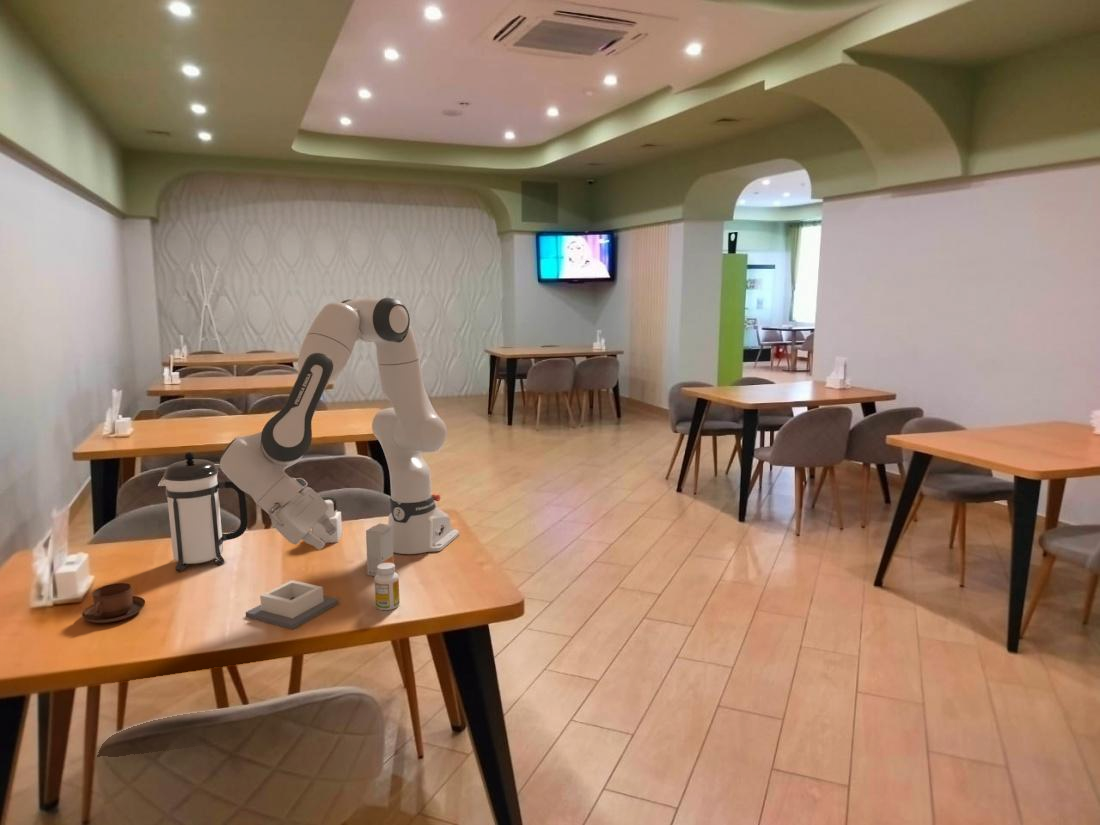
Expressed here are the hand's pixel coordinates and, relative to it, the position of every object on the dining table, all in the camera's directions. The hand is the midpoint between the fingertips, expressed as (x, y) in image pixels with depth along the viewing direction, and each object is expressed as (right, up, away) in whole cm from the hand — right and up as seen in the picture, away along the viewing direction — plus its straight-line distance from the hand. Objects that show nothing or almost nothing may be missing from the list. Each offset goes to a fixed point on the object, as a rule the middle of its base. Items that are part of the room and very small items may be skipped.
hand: (328, 539), depth 160 cm
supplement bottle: (+12, -16, +3) cm, 21 cm away
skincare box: (+6, -13, +23) cm, 27 cm away
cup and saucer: (-48, -17, -1) cm, 50 cm away
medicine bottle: (-15, -8, +47) cm, 50 cm away
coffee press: (-43, -11, +31) cm, 54 cm away
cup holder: (-9, -16, +1) cm, 18 cm away
